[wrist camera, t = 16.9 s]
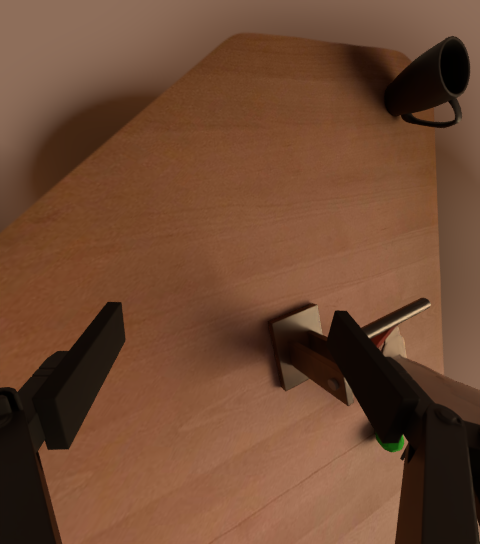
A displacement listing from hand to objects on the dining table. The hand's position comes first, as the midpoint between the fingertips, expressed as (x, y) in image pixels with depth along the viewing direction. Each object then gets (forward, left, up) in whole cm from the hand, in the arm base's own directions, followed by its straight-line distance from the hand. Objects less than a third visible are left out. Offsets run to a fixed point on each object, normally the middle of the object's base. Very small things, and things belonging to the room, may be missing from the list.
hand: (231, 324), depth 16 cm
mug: (-14, +49, -20) cm, 55 cm away
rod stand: (+18, +15, -20) cm, 30 cm away
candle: (+33, +36, -20) cm, 52 cm away
